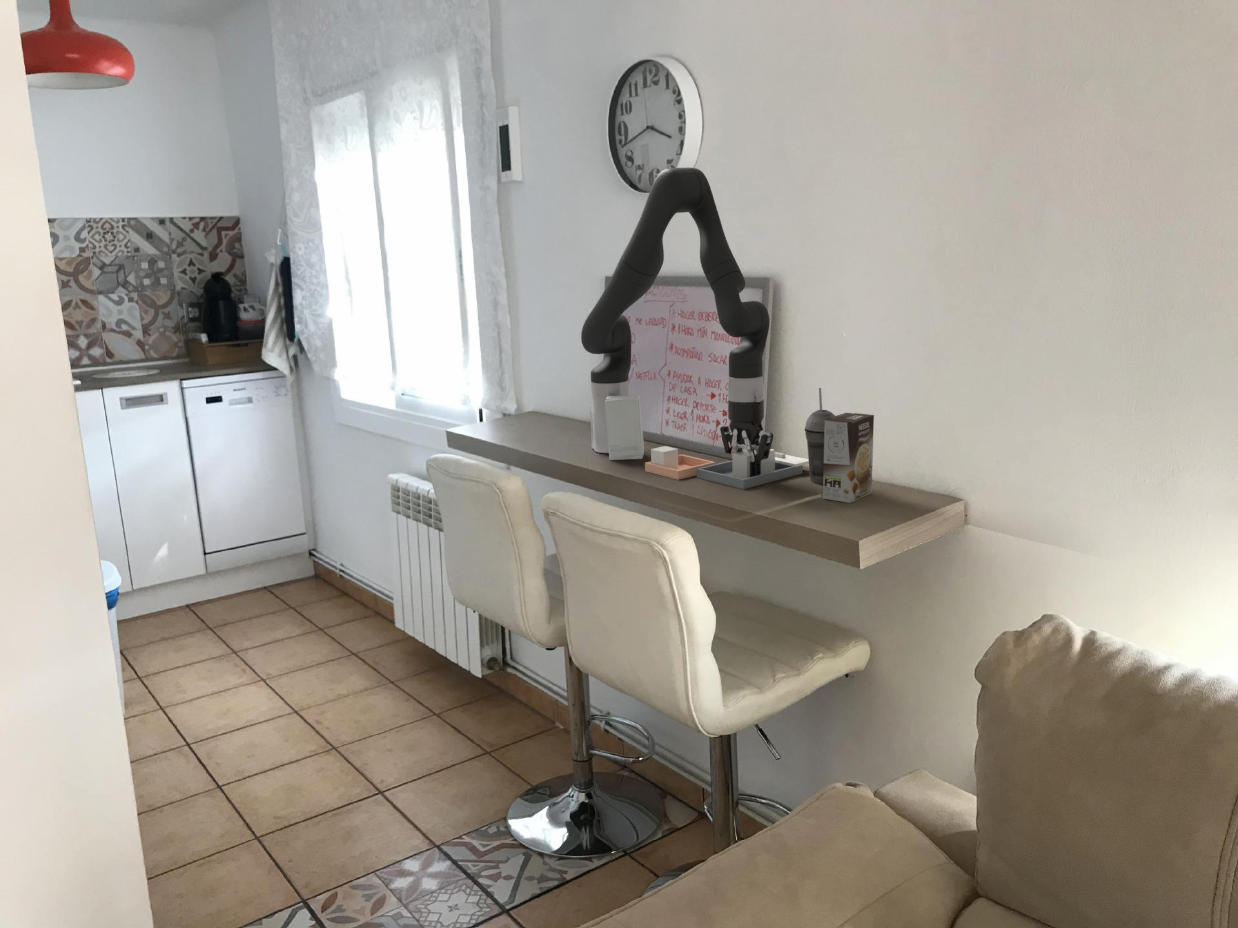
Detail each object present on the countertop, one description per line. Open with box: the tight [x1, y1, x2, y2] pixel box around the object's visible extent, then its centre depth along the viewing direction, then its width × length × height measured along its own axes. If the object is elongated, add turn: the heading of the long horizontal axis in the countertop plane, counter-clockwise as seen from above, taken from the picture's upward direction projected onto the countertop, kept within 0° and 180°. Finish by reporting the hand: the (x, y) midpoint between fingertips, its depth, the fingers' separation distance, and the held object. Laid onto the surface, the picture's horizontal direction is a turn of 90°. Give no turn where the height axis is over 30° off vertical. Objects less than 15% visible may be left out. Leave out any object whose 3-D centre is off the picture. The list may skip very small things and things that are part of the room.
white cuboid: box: [731, 450, 756, 479], centre depth 212 cm, size 4×4×5 cm
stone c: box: [754, 448, 776, 475], centre depth 214 cm, size 4×4×5 cm
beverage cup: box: [804, 387, 836, 485], centre depth 204 cm, size 7×7×20 cm
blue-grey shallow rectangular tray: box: [696, 451, 809, 490], centre depth 213 cm, size 15×21×4 cm
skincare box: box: [605, 393, 645, 461], centre depth 234 cm, size 8×6×15 cm
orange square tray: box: [644, 453, 716, 481], centre depth 219 cm, size 11×11×2 cm
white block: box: [650, 445, 679, 470], centre depth 219 cm, size 4×4×5 cm
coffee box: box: [822, 412, 875, 504], centre depth 194 cm, size 9×6×16 cm
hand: (746, 475), depth 212 cm, fingers closed on white cuboid, 4 cm apart
